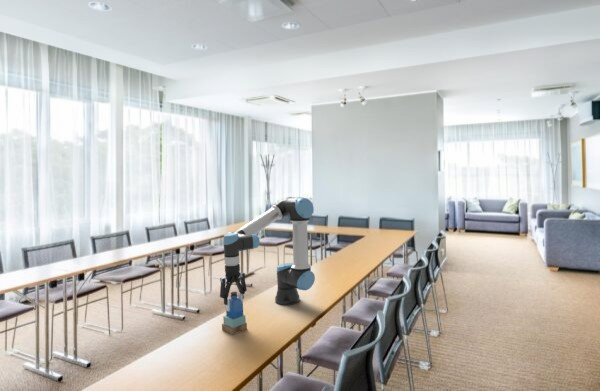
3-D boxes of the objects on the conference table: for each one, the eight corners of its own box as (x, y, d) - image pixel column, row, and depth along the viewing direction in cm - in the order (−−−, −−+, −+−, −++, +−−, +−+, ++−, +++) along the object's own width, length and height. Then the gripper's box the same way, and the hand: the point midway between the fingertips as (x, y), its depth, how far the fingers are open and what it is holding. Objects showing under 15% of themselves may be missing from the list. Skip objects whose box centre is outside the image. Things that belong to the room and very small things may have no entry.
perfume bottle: (233, 319, 183) (231, 295, 182) (226, 315, 187) (225, 292, 187) (243, 315, 187) (242, 292, 186) (236, 312, 192) (235, 290, 191)
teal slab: (236, 319, 193) (236, 311, 192) (245, 323, 187) (245, 315, 187) (223, 324, 187) (223, 316, 187) (232, 328, 181) (232, 320, 181)
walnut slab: (236, 325, 194) (236, 318, 194) (247, 330, 187) (246, 322, 187) (222, 331, 188) (221, 323, 187) (232, 336, 181) (231, 328, 181)
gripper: (244, 259, 195) (246, 301, 197) (210, 267, 181) (213, 312, 182) (252, 261, 190) (254, 304, 191) (219, 269, 176) (221, 316, 177)
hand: (234, 308), depth 187 cm, fingers open, 7 cm apart
